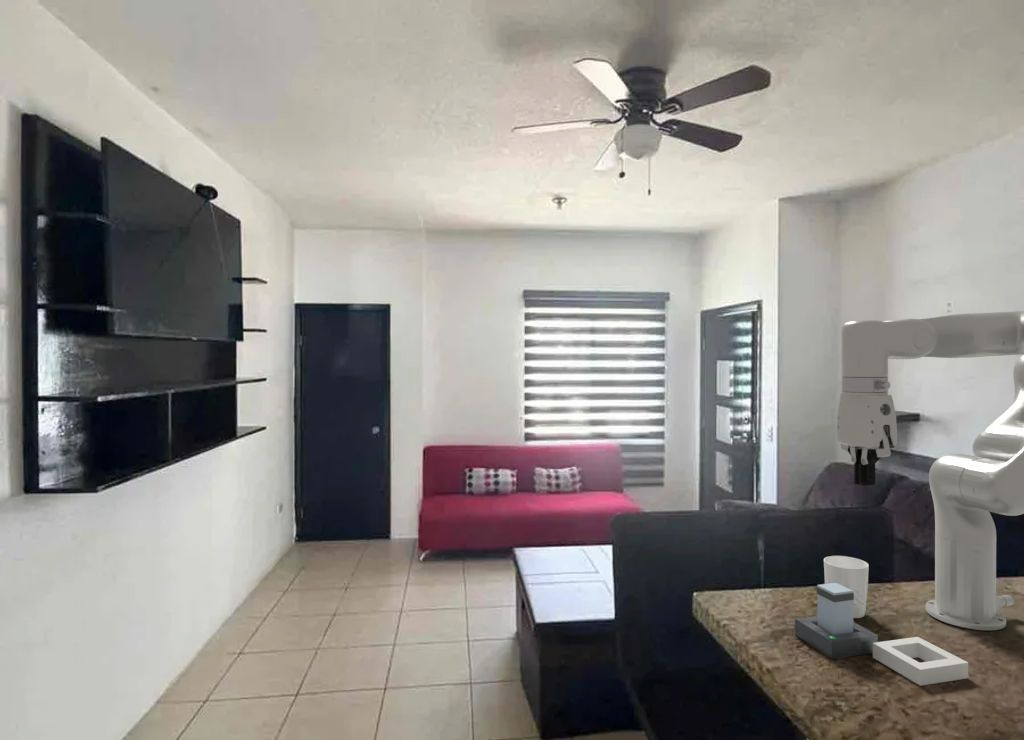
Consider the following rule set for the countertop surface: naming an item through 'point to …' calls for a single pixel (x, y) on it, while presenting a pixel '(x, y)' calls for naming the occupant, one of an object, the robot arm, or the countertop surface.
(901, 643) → the holster
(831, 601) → the plug
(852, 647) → the port
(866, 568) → the white cup
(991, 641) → the countertop surface
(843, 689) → the countertop surface
